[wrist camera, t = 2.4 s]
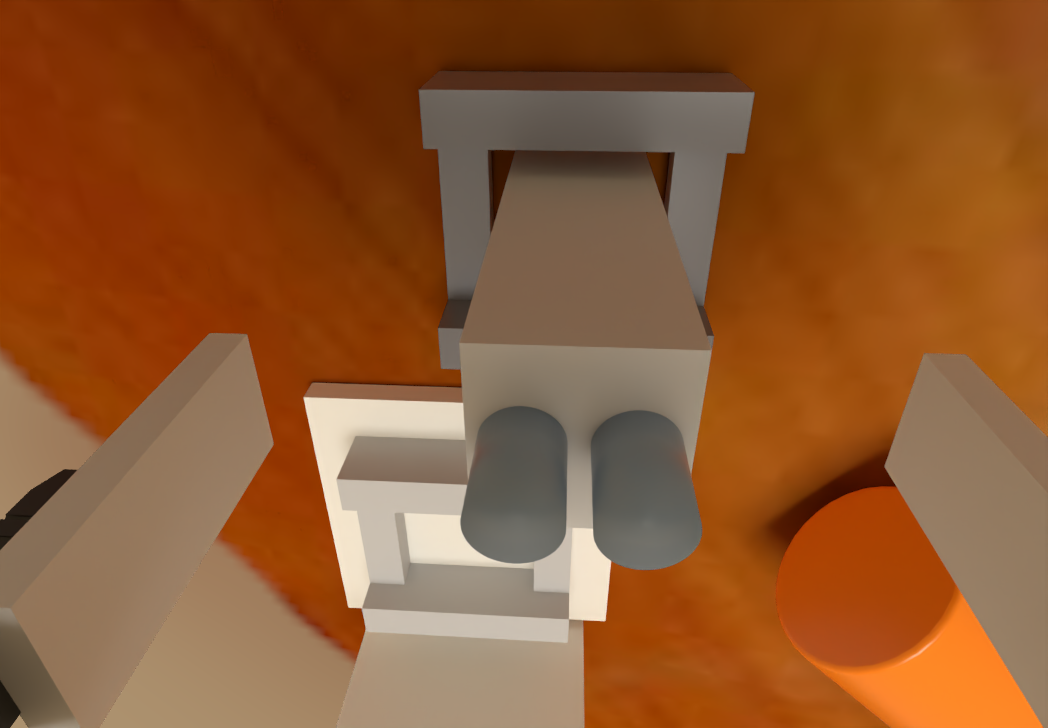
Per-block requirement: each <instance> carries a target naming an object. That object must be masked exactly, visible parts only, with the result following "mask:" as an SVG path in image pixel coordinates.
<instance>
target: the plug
mask: <svg viewBox="0 0 1048 728" xmlns="http://www.w3.org/2000/svg"><path fill="white" fill-rule="evenodd" d="M459 347H460V363H461V379H462V395H463V411H464V426H465V442H466V458H467V474H468V484H467V489H466V494H465V499H464V504H463V508H462V513H461V518H460V526H461V531H462V534H463V536H464V538H465V539H466V541H467V542H468V543H469V544H470V546H471V547H472V548H474V549H475V550H476V551H477V552H479V553H480V554H482V555H484V556H486V557H488V558H490V559H493V560H496V561H500V562H504V563H512V564H522V563H530V562H534V561H538V560H541V559H543V558H545V557H547V556H549V555H551V554H552V553H553V552H555V551H556V550H557V549H558V548H559V546H560V545H561V544H562V542H563V540H564V538H565V535H566V528H587V529H593V537H594V541H595V543H596V546H597V547H598V549H599V550H600V552H601V553H602V554H603V555H604V556H605V557H607V558H608V559H609V560H611V561H613V562H614V563H616V564H619V565H621V566H624V567H627V568H632V569H639V570H654V569H660V568H665V567H669V566H671V565H674V564H676V563H678V562H680V561H682V560H684V559H685V558H687V557H688V556H689V555H690V554H691V553H692V552H693V551H694V550H695V549H696V547H697V546H698V544H699V542H700V539H701V536H702V524H701V520H700V515H699V510H698V506H697V501H696V496H695V492H694V487H693V483H692V478H691V472H692V466H693V460H694V454H695V448H696V442H697V436H698V430H699V424H700V418H701V412H702V406H703V400H704V394H705V388H706V382H707V376H708V370H709V364H710V358H711V352H712V350H711V347H710V344H709V341H708V338H707V335H706V332H705V329H704V326H703V323H702V320H701V317H700V314H699V311H698V308H697V305H696V302H695V299H694V296H693V293H692V290H691V287H690V284H689V281H688V278H687V275H686V272H685V269H684V266H683V263H682V260H681V257H680V254H679V251H678V248H677V245H676V242H675V239H674V236H673V233H672V230H671V227H670V224H669V221H668V218H667V215H666V212H665V209H664V206H663V203H662V200H661V197H660V194H659V191H658V188H657V185H656V182H655V179H654V176H653V173H652V170H651V167H650V164H649V161H648V158H647V155H646V152H616V151H542V150H515V153H514V157H513V160H512V164H511V167H510V170H509V174H508V177H507V181H506V184H505V188H504V191H503V194H502V198H501V201H500V205H499V208H498V212H497V215H496V219H495V222H494V225H493V229H492V232H491V236H490V239H489V243H488V246H487V249H486V253H485V256H484V260H483V263H482V267H481V270H480V273H479V277H478V280H477V284H476V287H475V291H474V294H473V298H472V301H471V304H470V308H469V311H468V315H467V318H466V322H465V325H464V328H463V332H462V335H461V339H460V342H459Z"/></svg>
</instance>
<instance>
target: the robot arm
mask: <svg viewBox="0 0 1048 728" xmlns="http://www.w3.org/2000/svg"><path fill="white" fill-rule="evenodd" d="M273 444H274V443H273V439H272V435H271V431H270V427H269V422H268V418H267V414H266V410H265V406H264V402H263V398H262V394H261V390H260V386H259V381H258V377H257V373H256V369H255V365H254V361H253V357H252V353H251V349H250V345H249V340H248V336H247V334H221V333H209V334H208V335H207V336H206V338H205V339H204V340H203V341H202V342H201V343H200V344H199V345H198V346H197V347H196V348H195V349H194V350H193V351H192V352H191V353H190V354H189V355H188V356H187V357H186V358H185V359H184V360H183V361H182V362H181V363H180V364H179V366H178V367H177V368H176V369H175V370H174V371H173V372H172V373H171V374H170V375H169V376H168V377H167V378H166V379H165V380H164V381H163V382H162V383H161V384H160V385H159V386H158V387H157V388H156V389H155V390H154V391H153V392H152V393H151V395H150V396H149V397H148V398H147V399H146V400H145V401H144V402H143V403H142V404H141V405H140V406H139V407H138V408H137V409H136V410H135V411H134V412H133V413H132V414H131V415H130V416H129V417H128V418H127V419H126V420H125V421H124V422H123V424H122V425H121V426H120V427H119V428H118V429H117V430H116V431H115V432H114V433H113V434H112V435H111V436H110V437H109V438H108V439H107V440H106V441H105V442H104V443H103V444H102V445H101V446H100V447H99V448H98V449H97V450H96V452H95V453H94V454H93V455H92V456H91V457H90V458H89V459H88V460H87V461H86V462H85V463H84V464H83V465H82V466H81V467H80V468H79V469H78V470H67V469H65V470H63V471H61V472H59V473H57V474H56V475H54V476H53V477H51V478H49V479H48V480H47V481H44V482H43V483H41V484H40V485H38V486H36V487H35V488H33V489H31V490H30V491H29V492H28V493H27V494H26V495H25V496H24V497H23V498H22V499H21V500H20V501H19V502H18V503H17V504H16V505H15V506H14V507H13V508H12V509H11V510H10V511H9V512H8V513H7V514H6V518H5V520H3V519H1V520H0V728H10V727H11V726H12V724H13V723H14V722H15V720H16V719H17V717H18V716H19V715H20V716H21V717H22V719H23V720H24V722H25V723H26V725H27V726H28V728H100V726H101V724H102V723H103V721H104V720H105V718H106V716H107V715H108V713H109V711H110V710H111V708H112V706H113V705H114V703H115V702H116V700H117V698H118V697H119V695H120V693H121V692H122V690H123V689H124V687H125V685H126V684H127V682H128V680H129V679H130V677H131V676H132V674H133V672H134V671H135V669H136V667H137V666H138V664H139V662H140V661H141V659H142V658H143V656H144V654H145V653H146V651H147V650H148V648H149V646H150V644H151V643H152V641H153V640H154V638H155V636H156V635H157V633H158V632H159V630H160V628H161V627H162V625H163V623H164V622H165V620H166V619H167V617H168V615H169V614H170V612H171V610H172V609H173V607H174V605H175V604H176V602H177V600H178V599H179V597H180V596H181V594H182V592H183V591H184V589H185V588H186V586H187V584H188V583H189V581H190V579H191V578H192V576H193V575H194V573H195V571H196V570H197V568H198V566H199V565H200V563H201V561H202V560H203V558H204V557H205V555H206V553H207V552H208V550H209V549H210V547H211V545H212V544H213V542H214V540H215V539H216V537H217V536H218V534H219V532H220V531H221V529H222V527H223V526H224V524H225V523H226V521H227V519H228V518H229V516H230V514H231V513H232V511H233V510H234V508H235V506H236V505H237V503H238V501H239V500H240V498H241V496H242V495H243V493H244V492H245V490H246V488H247V487H248V485H249V483H250V482H251V480H252V479H253V477H254V475H255V474H256V472H257V470H258V469H259V467H260V466H261V464H262V462H263V461H264V459H265V457H266V456H267V454H268V453H269V451H270V449H271V448H272V446H273ZM884 467H885V469H886V470H887V472H888V474H889V475H890V477H891V479H892V480H893V482H894V483H895V485H896V487H897V488H898V490H899V492H900V493H901V495H902V497H903V498H904V500H905V502H906V503H907V505H908V506H909V508H910V510H911V511H912V513H913V515H914V516H915V518H916V520H917V521H918V523H919V524H920V526H921V528H922V529H923V531H924V533H925V534H926V536H927V538H928V539H929V541H930V542H931V544H932V546H933V547H934V549H935V551H936V552H937V554H938V556H939V557H940V559H941V561H942V562H943V564H944V565H945V567H946V569H947V570H948V572H949V574H950V575H951V577H952V579H953V580H954V582H955V583H956V585H957V587H958V588H959V590H960V592H961V593H962V595H963V597H964V598H965V600H966V602H967V603H968V605H969V606H970V608H971V610H972V611H973V613H974V615H975V616H976V618H977V620H978V621H979V623H980V624H981V626H982V628H983V629H984V631H985V633H986V634H987V636H988V638H989V639H990V641H991V643H992V644H993V646H994V647H995V649H996V651H997V652H998V654H999V656H1000V657H1001V659H1002V661H1003V662H1004V664H1005V665H1006V667H1007V669H1008V670H1009V672H1010V674H1011V675H1012V677H1013V679H1014V680H1015V682H1016V684H1017V685H1018V687H1019V688H1020V690H1021V692H1022V693H1023V695H1024V697H1025V698H1026V700H1027V702H1028V703H1029V705H1030V706H1031V708H1032V710H1033V711H1034V713H1035V715H1036V716H1037V718H1038V720H1039V721H1040V723H1041V725H1042V726H1043V728H1048V437H1047V436H1046V435H1045V434H1044V433H1043V432H1042V431H1041V430H1040V429H1039V428H1038V427H1037V426H1036V425H1035V424H1034V423H1033V422H1032V421H1031V420H1030V419H1029V418H1028V417H1027V416H1026V415H1025V414H1024V413H1023V412H1022V411H1021V410H1020V409H1019V408H1018V407H1017V406H1016V405H1015V404H1014V403H1013V402H1012V401H1011V400H1010V399H1009V398H1008V397H1007V396H1006V395H1005V394H1004V393H1003V392H1002V391H1001V390H1000V389H999V388H998V387H997V386H996V384H995V383H994V382H993V381H992V380H991V379H990V378H989V377H988V376H987V375H986V374H985V373H984V372H983V371H982V370H981V369H980V368H979V367H978V366H977V365H976V364H975V363H974V362H973V361H972V360H971V359H970V358H969V357H968V356H967V355H965V354H929V353H924V355H923V358H922V361H921V364H920V366H919V369H918V372H917V375H916V378H915V381H914V384H913V386H912V389H911V392H910V395H909V398H908V401H907V403H906V406H905V409H904V412H903V415H902V418H901V421H900V423H899V426H898V429H897V432H896V435H895V438H894V441H893V443H892V446H891V449H890V452H889V455H888V458H887V460H886V463H885V466H884Z"/></svg>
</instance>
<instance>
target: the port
mask: <svg viewBox="0 0 1048 728" xmlns="http://www.w3.org/2000/svg"><path fill="white" fill-rule="evenodd" d="M304 402H305V407H306V411H307V416H308V421H309V425H310V430H311V435H312V439H313V444H314V449H315V453H316V458H317V463H318V467H319V472H320V477H321V481H322V486H323V491H324V495H325V500H326V505H327V509H328V514H329V519H330V523H331V528H332V533H333V537H334V542H335V547H336V551H337V556H338V561H339V565H340V570H341V575H342V579H343V584H344V589H345V593H346V598H347V603H348V607H349V608H362V612H363V617H364V622H365V627H366V631H365V634H364V637H363V641H362V644H361V647H360V650H359V654H358V657H357V660H356V663H355V667H354V670H353V673H352V676H351V680H350V683H349V686H348V690H347V693H346V696H345V699H344V703H343V706H342V709H341V713H340V716H339V719H338V723H337V725H336V728H584V655H583V620H592V621H605V620H606V609H607V599H608V588H609V577H610V567H611V560H609V559H608V558H607V557H605V556H604V555H603V554H602V553H601V552H600V550H599V549H598V547H597V546H596V543H595V541H594V537H593V529H587V528H566V535H565V538H564V540H563V542H562V544H561V545H560V546H559V548H558V549H557V550H556V551H555V552H553V553H552V554H551V555H549V556H547V557H545V558H543V559H541V560H538V561H534V562H530V563H522V564H512V563H504V562H500V561H496V560H493V559H490V558H488V557H486V556H484V555H482V554H480V553H479V552H477V551H476V550H475V549H474V548H472V547H471V546H470V544H469V543H468V542H467V541H466V539H465V538H464V536H463V534H462V531H461V526H460V518H461V513H462V508H463V504H464V499H465V494H466V489H467V484H468V474H467V458H466V442H465V426H464V411H463V395H462V388H458V387H429V386H399V385H370V384H340V383H312V384H311V386H310V387H309V389H308V391H307V392H306V394H305V396H304Z"/></svg>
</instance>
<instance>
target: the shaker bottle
mask: <svg viewBox="0 0 1048 728" xmlns="http://www.w3.org/2000/svg"><path fill="white" fill-rule="evenodd" d="M776 606H777V612H778V617H779V620H780V622H781V625H782V627H783V630H784V632H785V634H786V635H787V637H788V638H789V640H790V642H791V643H792V645H793V646H794V647H795V648H796V649H797V650H798V651H799V652H800V653H801V654H802V655H803V656H804V657H805V658H806V659H807V660H808V661H809V662H811V663H812V664H813V665H814V666H816V667H817V668H818V669H819V670H821V671H822V672H823V673H824V674H825V675H827V676H828V677H829V678H830V679H832V680H833V681H834V682H835V683H837V684H838V685H839V686H840V687H841V688H843V689H844V690H845V691H846V692H848V693H849V694H850V695H851V696H852V697H854V698H855V699H856V700H857V701H859V702H860V703H861V704H862V705H864V706H865V707H866V708H867V709H868V710H870V711H871V712H872V713H873V714H875V715H876V716H877V717H878V718H880V719H881V720H882V721H883V722H884V723H886V724H887V725H888V726H889V727H891V728H1043V726H1042V725H1041V723H1040V721H1039V720H1038V718H1037V716H1036V715H1035V713H1034V711H1033V710H1032V708H1031V706H1030V705H1029V703H1028V702H1027V700H1026V698H1025V697H1024V695H1023V693H1022V692H1021V690H1020V688H1019V687H1018V685H1017V684H1016V682H1015V680H1014V679H1013V677H1012V675H1011V674H1010V672H1009V670H1008V669H1007V667H1006V665H1005V664H1004V662H1003V661H1002V659H1001V657H1000V656H999V654H998V652H997V651H996V649H995V647H994V646H993V644H992V643H991V641H990V639H989V638H988V636H987V634H986V633H985V631H984V629H983V628H982V626H981V624H980V623H979V621H978V620H977V618H976V616H975V615H974V613H973V611H972V610H971V608H970V606H969V605H968V603H967V602H966V600H965V598H964V597H963V595H962V593H961V592H960V590H959V588H958V587H957V585H956V583H955V582H954V580H953V579H952V577H951V575H950V574H949V572H948V570H947V569H946V567H945V565H944V564H943V562H942V561H941V559H940V557H939V556H938V554H937V552H936V551H935V549H934V547H933V546H932V544H931V542H930V541H929V539H928V538H927V536H926V534H925V533H924V531H923V529H922V528H921V526H920V524H919V523H918V521H917V520H916V518H915V516H914V515H913V513H912V511H911V510H910V508H909V506H908V505H907V503H906V502H905V500H904V498H903V497H902V495H901V493H900V492H899V490H898V488H897V487H889V486H879V487H871V488H864V489H861V490H858V491H854V492H851V493H848V494H846V495H844V496H842V497H840V498H838V499H836V500H834V501H831V502H830V503H829V504H827V505H826V506H824V507H823V508H821V509H820V510H819V511H817V512H816V513H815V514H814V515H813V516H812V517H811V518H810V519H809V520H808V521H806V522H805V523H804V525H803V526H802V527H801V528H800V530H799V531H798V532H797V533H796V535H795V536H794V537H793V539H792V541H791V543H790V544H789V546H788V548H787V550H786V551H785V554H784V557H783V559H782V562H781V564H780V567H779V572H778V577H777V581H776Z"/></svg>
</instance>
